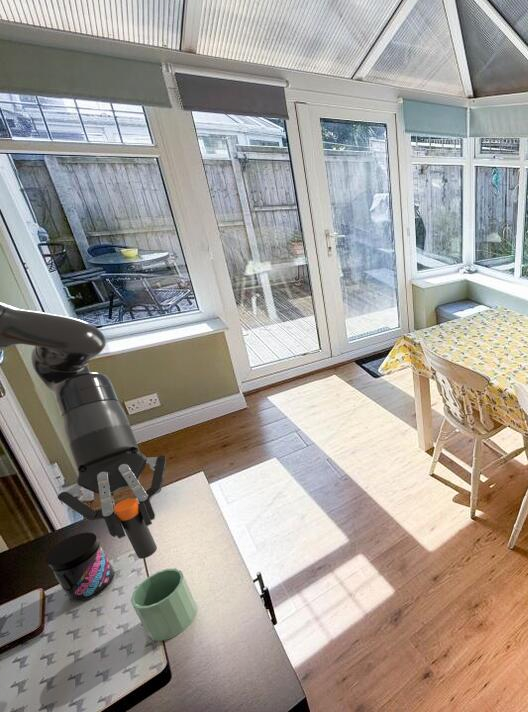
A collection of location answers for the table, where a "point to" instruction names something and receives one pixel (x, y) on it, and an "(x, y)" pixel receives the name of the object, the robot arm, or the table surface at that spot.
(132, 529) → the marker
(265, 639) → the table surface
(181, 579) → the tumbler
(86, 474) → the robot arm
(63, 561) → the supplement container
